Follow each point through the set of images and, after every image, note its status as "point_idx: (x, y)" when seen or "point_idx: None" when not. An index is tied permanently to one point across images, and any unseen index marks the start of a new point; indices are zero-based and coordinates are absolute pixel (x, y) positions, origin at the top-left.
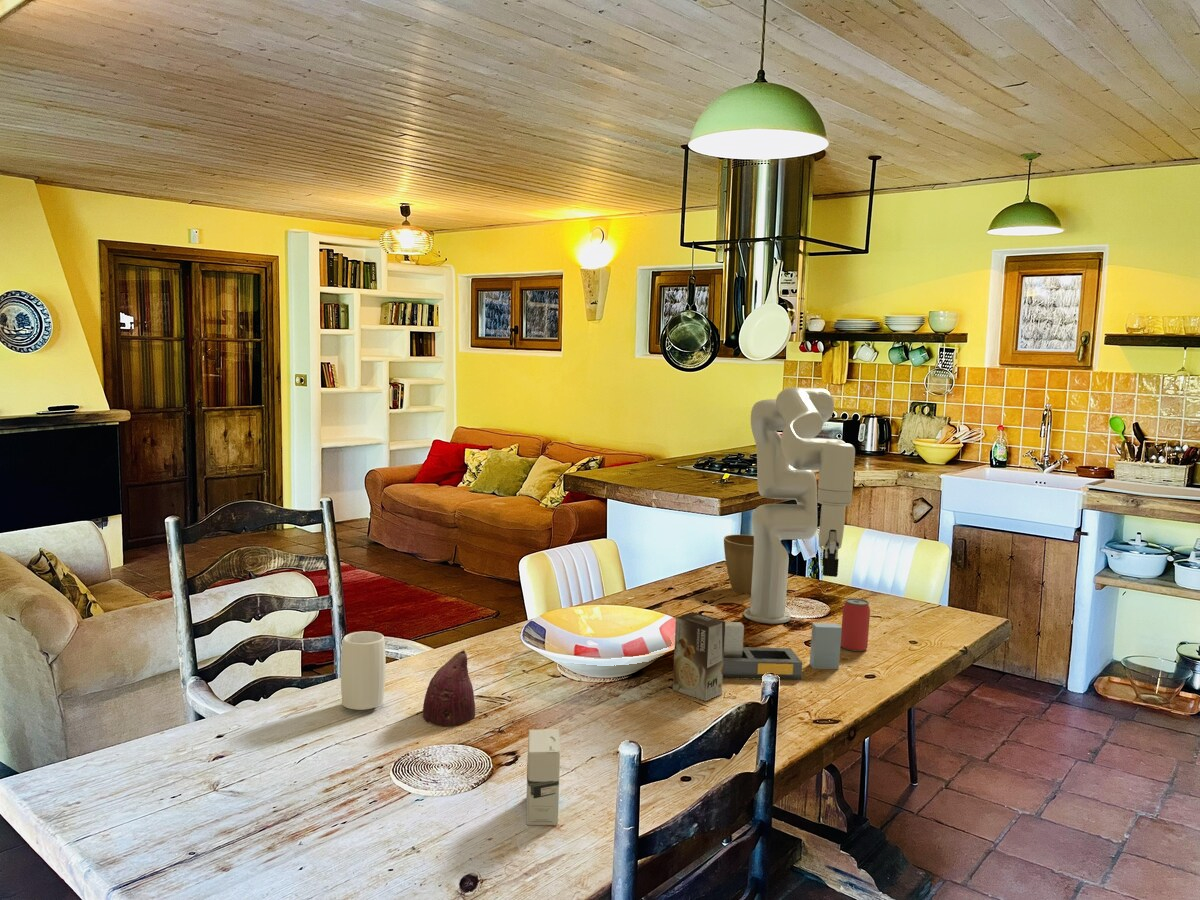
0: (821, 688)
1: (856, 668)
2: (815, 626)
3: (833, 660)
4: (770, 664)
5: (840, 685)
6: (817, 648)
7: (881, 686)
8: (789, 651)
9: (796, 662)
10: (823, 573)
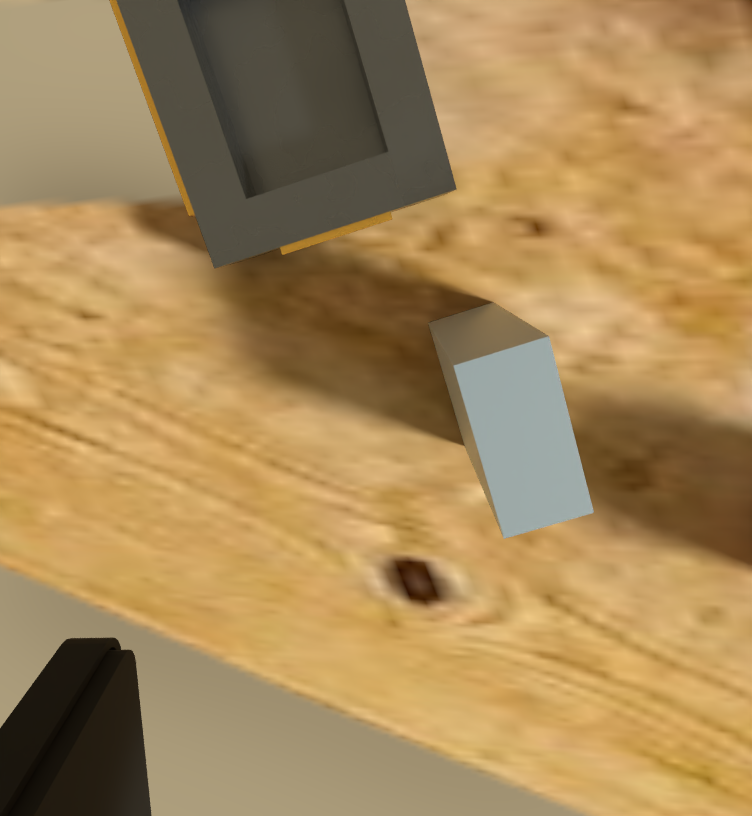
0: (157, 364)
1: None
2: (472, 358)
3: (462, 431)
4: (137, 73)
5: (237, 451)
6: (442, 355)
7: (299, 621)
8: (391, 183)
9: (203, 233)
10: (60, 662)
